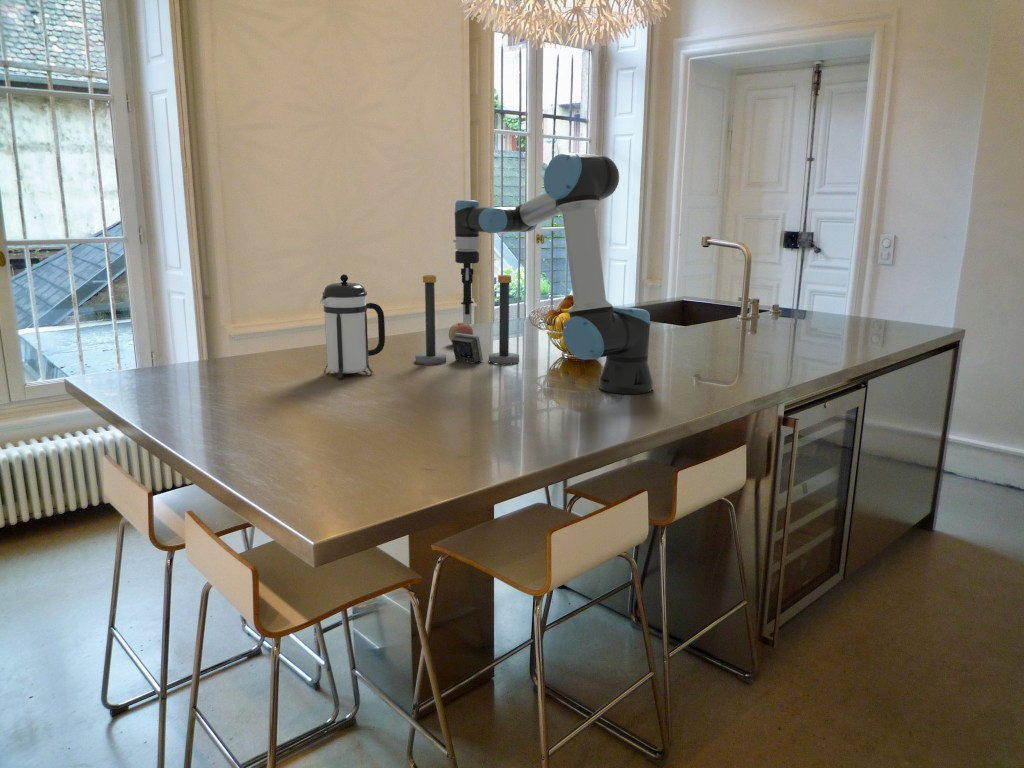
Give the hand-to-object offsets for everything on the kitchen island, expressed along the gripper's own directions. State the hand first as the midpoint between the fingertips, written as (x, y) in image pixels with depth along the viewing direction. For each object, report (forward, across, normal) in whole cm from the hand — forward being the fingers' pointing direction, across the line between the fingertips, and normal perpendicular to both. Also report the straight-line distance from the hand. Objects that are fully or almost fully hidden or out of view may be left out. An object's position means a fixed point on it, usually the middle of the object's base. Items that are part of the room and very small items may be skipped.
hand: (467, 323), depth 246 cm
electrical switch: (+13, 0, 0) cm, 13 cm away
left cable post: (+12, 0, -12) cm, 17 cm away
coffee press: (+13, +17, -35) cm, 41 cm away
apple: (+13, -28, -3) cm, 31 cm away
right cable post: (+12, 0, +12) cm, 17 cm away
